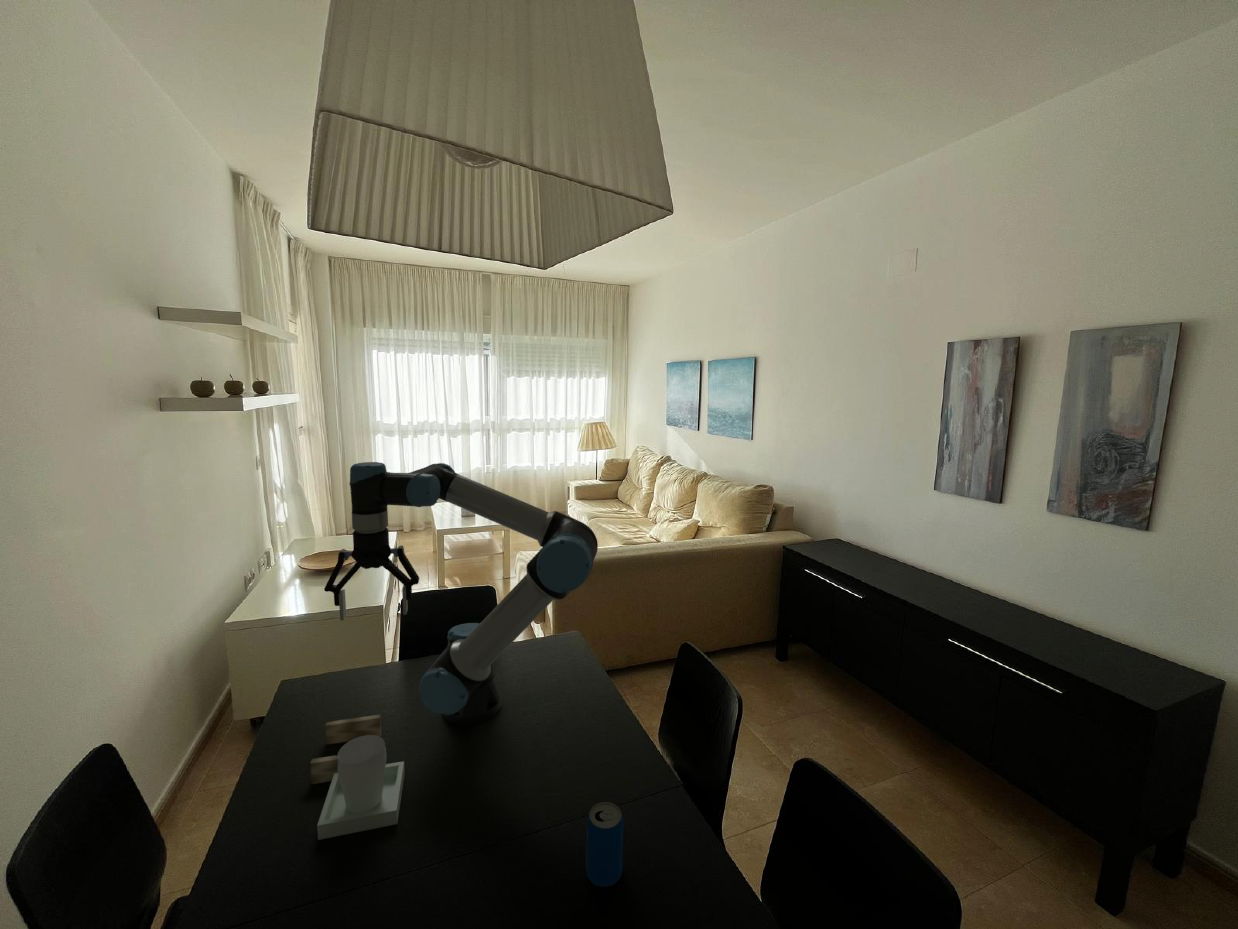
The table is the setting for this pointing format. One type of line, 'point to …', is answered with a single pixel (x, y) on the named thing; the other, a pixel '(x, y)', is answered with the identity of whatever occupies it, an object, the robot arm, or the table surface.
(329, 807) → the tray
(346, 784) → the cup
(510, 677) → the table surface
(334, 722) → the rest
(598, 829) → the beverage can
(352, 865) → the table surface
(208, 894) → the table surface
